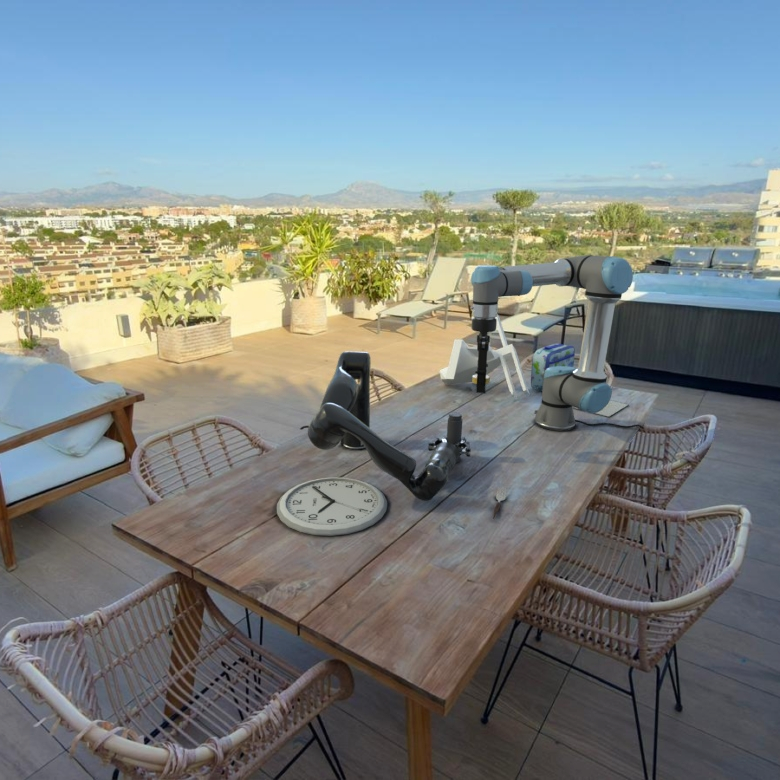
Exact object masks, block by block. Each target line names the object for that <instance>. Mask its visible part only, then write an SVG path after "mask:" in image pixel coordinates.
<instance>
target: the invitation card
mask: <svg viewBox="0 0 780 780" xmlns="http://www.w3.org/2000/svg"><path fill="white" fill-rule="evenodd" d="M628 406H629V404H627V403H623V402H618V401H614V400H610V401H609V403H608V404H607V405H606V407H604V408H603V409H602V410H601V411H599V412H597V413H595V414H596V415H600V416H604V417H608V418H609V417H611V416H613V415H614V414H616V413H617V412H619V411H621V410H623V409H624V408H626V407H628ZM573 409H575V410H579V409H578V408H576V407H573Z"/></svg>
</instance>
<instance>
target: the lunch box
mask: <svg viewBox="0 0 780 780" xmlns="http://www.w3.org/2000/svg"><path fill="white" fill-rule="evenodd" d="M575 352H576V351H575V346H573V345H568V344H562V343H553V344H550V345H547V346H546V345H545V346H544V347H541V348H538V349H537V350H536V351H535V352H534V354H533V357H532V362H531V371H530V372H531V374H530V387H531V389H533V390H539V391H542V390H543V378H544V375H545V370H546V369H547V368H549V367H555V366H567V367H574V363H575Z"/></svg>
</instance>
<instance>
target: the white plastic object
mask: <svg viewBox="0 0 780 780" xmlns="http://www.w3.org/2000/svg"><path fill="white" fill-rule="evenodd" d="M495 318H496V319H497V324H496V329H497V332H498V335H499V338H500V342H501V345H502V347H500V348H498V349H496V350H495V349H493V348H492V347H491V346H490V344H489V350H488V351H487V364H488V367H486V370H487V372H486V375H489V374H490V373H492V372H494V371H495V370H496V369H497V368H499V367H500V366H502V370H503V373H504V376H505V380H506V383H507V386H508V390H509V393H510V394H511V395H512V397H513V398H514V399H515V400H517V392H516V391H517V390H516V388H515V385H514V381H513V378H512V375H511V371H510V369H509V365H508V361H510V360H513V363H514V366H515V369H516V372H517V376H518V380H519V382H520V385H521V389H522V391H523V393H524V395H525V396H526V397H528V396H531V395H530V390H529V388H528V387H529V386H528V384H527V381H526V378H525V375H524V371H523V369H522V368H523V367H522V366H521V362H520V359H519V355H518V352H517V349H516V347H515V346H514V345H513V343H511V344H508V341H507V337H506V334H505V331H504V328H503V325H502V321H501V318H500V315H499V314H498V313H497V317H495ZM477 361H478V350H477V345H473V346H469V345H468V343H466V342H465V340H464V339H463V338H460V339H458V338H454V340H453V344H452V349H451V353H450V357H449V362H448V366H446V367H444V368H442V369H440V370H439V371H438V372H439V376H440V381H442V383H443V384H444V385H445V386H449V385H458V384H467V383H468V384H469V383H473V382H472V378H473V375H476V374H477V373H475V371H477V367H478V365H477V364H478V362H477Z"/></svg>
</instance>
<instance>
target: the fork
mask: <svg viewBox="0 0 780 780" xmlns="http://www.w3.org/2000/svg"><path fill="white" fill-rule="evenodd" d="M502 489H503V490H502ZM507 490H508V487H506V488H503V487H502V486H501V488H498V489H497V493H496V496H495V499H496V500H497V501H498V502H497V503H496V505H495V506H494V511H493V517H492V519H495V518H496V516H497V514H498V512H499V511H500V506H501V505H500V504H501V502H502V501H505V500H506V499H507V498H506V496H507Z"/></svg>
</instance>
